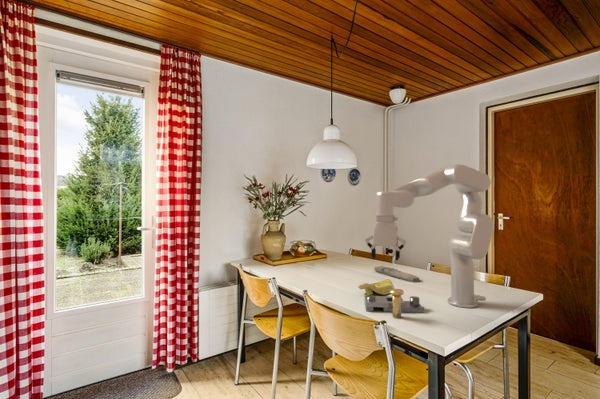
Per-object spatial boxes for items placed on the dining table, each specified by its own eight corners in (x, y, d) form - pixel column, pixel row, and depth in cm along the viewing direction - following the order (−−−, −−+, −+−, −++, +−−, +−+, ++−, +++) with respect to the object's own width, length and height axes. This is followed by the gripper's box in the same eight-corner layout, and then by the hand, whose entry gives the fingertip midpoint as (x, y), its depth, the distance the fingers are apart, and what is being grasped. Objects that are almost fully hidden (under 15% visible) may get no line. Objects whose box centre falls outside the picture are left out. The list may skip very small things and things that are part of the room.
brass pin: (402, 314, 137) (402, 288, 137) (405, 319, 131) (404, 292, 131) (388, 314, 138) (388, 288, 138) (390, 319, 132) (390, 292, 132)
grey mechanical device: (417, 305, 148) (417, 294, 148) (423, 312, 139) (423, 301, 139) (364, 304, 150) (364, 293, 150) (366, 311, 141) (366, 300, 141)
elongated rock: (411, 286, 184) (423, 284, 189) (412, 277, 184) (424, 275, 189) (369, 270, 214) (381, 269, 219) (370, 262, 214) (381, 262, 219)
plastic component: (376, 282, 178) (391, 277, 172) (381, 296, 176) (396, 291, 169) (354, 287, 165) (368, 282, 159) (358, 301, 162) (374, 297, 156)
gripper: (407, 219, 139) (407, 259, 140) (367, 218, 146) (367, 256, 147) (405, 220, 133) (405, 262, 133) (363, 219, 140) (363, 259, 140)
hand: (385, 259), depth 140 cm, fingers open, 9 cm apart
